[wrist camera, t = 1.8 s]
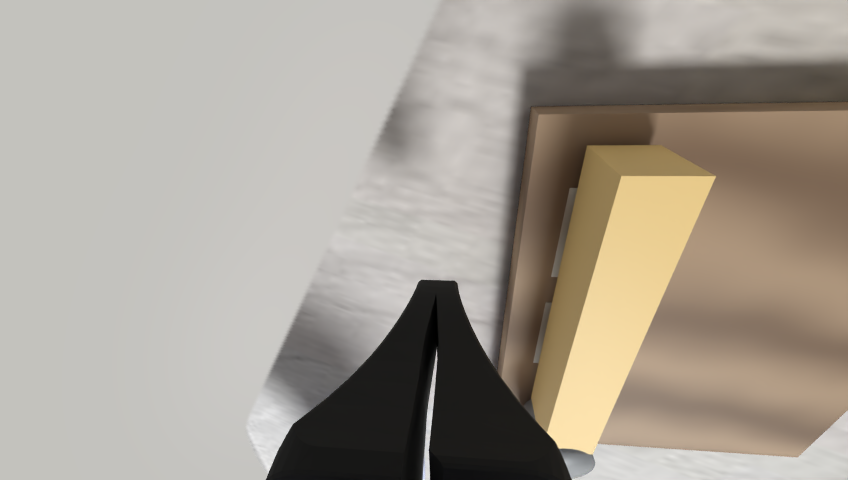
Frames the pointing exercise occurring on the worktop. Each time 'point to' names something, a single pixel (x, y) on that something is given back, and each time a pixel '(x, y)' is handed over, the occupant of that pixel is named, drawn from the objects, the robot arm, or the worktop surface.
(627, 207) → the swing bar
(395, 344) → the robot arm
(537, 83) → the worktop surface
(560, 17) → the worktop surface
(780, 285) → the label board
